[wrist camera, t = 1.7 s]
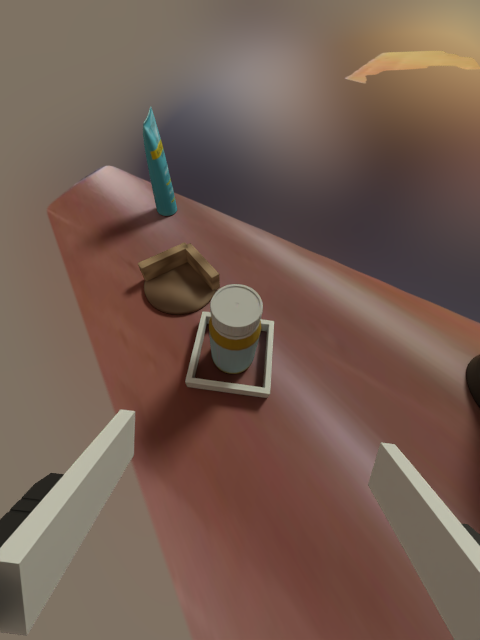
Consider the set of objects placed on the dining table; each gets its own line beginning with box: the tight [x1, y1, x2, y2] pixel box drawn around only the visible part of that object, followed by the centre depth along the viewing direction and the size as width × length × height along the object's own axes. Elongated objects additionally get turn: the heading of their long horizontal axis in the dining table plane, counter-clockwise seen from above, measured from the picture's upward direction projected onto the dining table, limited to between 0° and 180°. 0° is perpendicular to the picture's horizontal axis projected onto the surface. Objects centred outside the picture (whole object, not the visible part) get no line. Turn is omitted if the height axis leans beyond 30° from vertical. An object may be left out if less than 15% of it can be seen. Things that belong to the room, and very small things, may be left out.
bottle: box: [209, 284, 263, 374], centre depth 34 cm, size 7×7×15 cm
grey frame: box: [185, 312, 274, 398], centre depth 40 cm, size 13×13×2 cm
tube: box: [143, 107, 177, 216], centre depth 52 cm, size 7×5×19 cm, turn 6°
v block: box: [138, 243, 220, 315], centre depth 46 cm, size 14×15×4 cm
